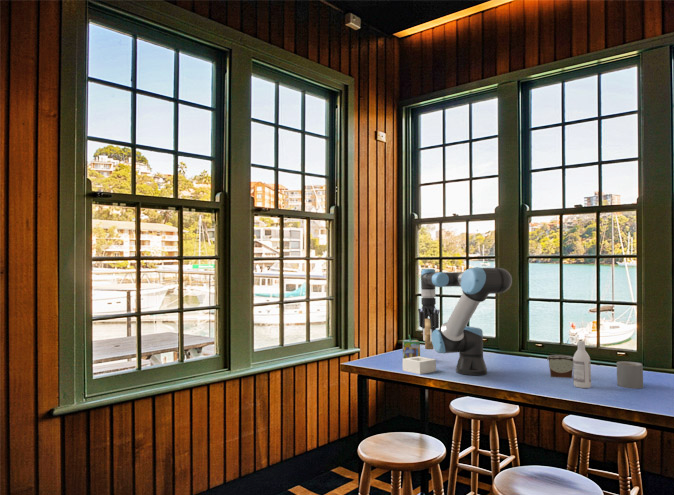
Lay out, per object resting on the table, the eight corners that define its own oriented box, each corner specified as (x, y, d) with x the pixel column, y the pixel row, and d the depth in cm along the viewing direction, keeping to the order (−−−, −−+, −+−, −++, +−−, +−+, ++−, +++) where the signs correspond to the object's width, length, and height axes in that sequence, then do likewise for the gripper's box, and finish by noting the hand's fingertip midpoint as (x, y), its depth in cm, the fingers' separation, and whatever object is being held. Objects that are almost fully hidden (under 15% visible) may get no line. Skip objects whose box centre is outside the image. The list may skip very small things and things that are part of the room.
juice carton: (420, 362, 274) (420, 335, 274) (404, 362, 274) (404, 335, 275) (418, 359, 283) (417, 333, 284) (402, 359, 283) (402, 333, 284)
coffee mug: (640, 389, 209) (639, 366, 209) (614, 386, 215) (614, 363, 216) (647, 384, 219) (646, 362, 219) (622, 381, 225) (621, 359, 226)
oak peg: (435, 348, 259) (434, 318, 260) (429, 349, 257) (429, 319, 258) (429, 347, 263) (428, 318, 264) (423, 348, 260) (422, 318, 261)
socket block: (435, 371, 248) (435, 359, 248) (419, 374, 241) (419, 362, 241) (418, 367, 258) (418, 356, 258) (402, 370, 250) (402, 358, 251)
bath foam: (585, 384, 218) (583, 340, 219) (594, 388, 211) (593, 342, 212) (570, 385, 218) (569, 340, 219) (579, 388, 211) (578, 342, 212)
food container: (572, 375, 237) (572, 355, 238) (575, 378, 231) (574, 357, 232) (545, 374, 240) (545, 354, 241) (547, 376, 235) (547, 356, 235)
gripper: (445, 297, 257) (446, 342, 255) (421, 296, 271) (421, 338, 269) (436, 298, 252) (436, 343, 251) (411, 297, 266) (412, 339, 265)
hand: (429, 340), depth 260 cm, fingers closed on oak peg, 4 cm apart
